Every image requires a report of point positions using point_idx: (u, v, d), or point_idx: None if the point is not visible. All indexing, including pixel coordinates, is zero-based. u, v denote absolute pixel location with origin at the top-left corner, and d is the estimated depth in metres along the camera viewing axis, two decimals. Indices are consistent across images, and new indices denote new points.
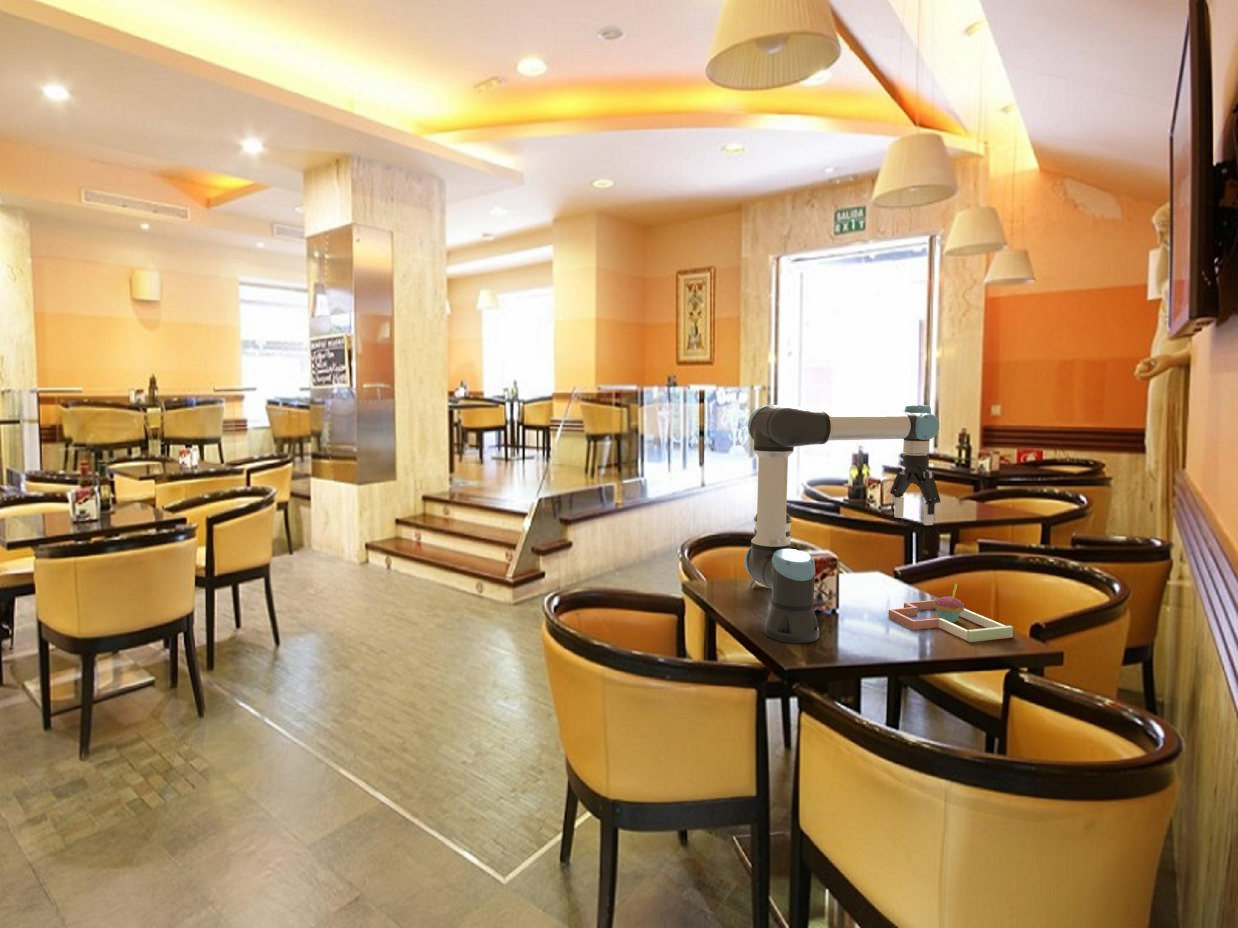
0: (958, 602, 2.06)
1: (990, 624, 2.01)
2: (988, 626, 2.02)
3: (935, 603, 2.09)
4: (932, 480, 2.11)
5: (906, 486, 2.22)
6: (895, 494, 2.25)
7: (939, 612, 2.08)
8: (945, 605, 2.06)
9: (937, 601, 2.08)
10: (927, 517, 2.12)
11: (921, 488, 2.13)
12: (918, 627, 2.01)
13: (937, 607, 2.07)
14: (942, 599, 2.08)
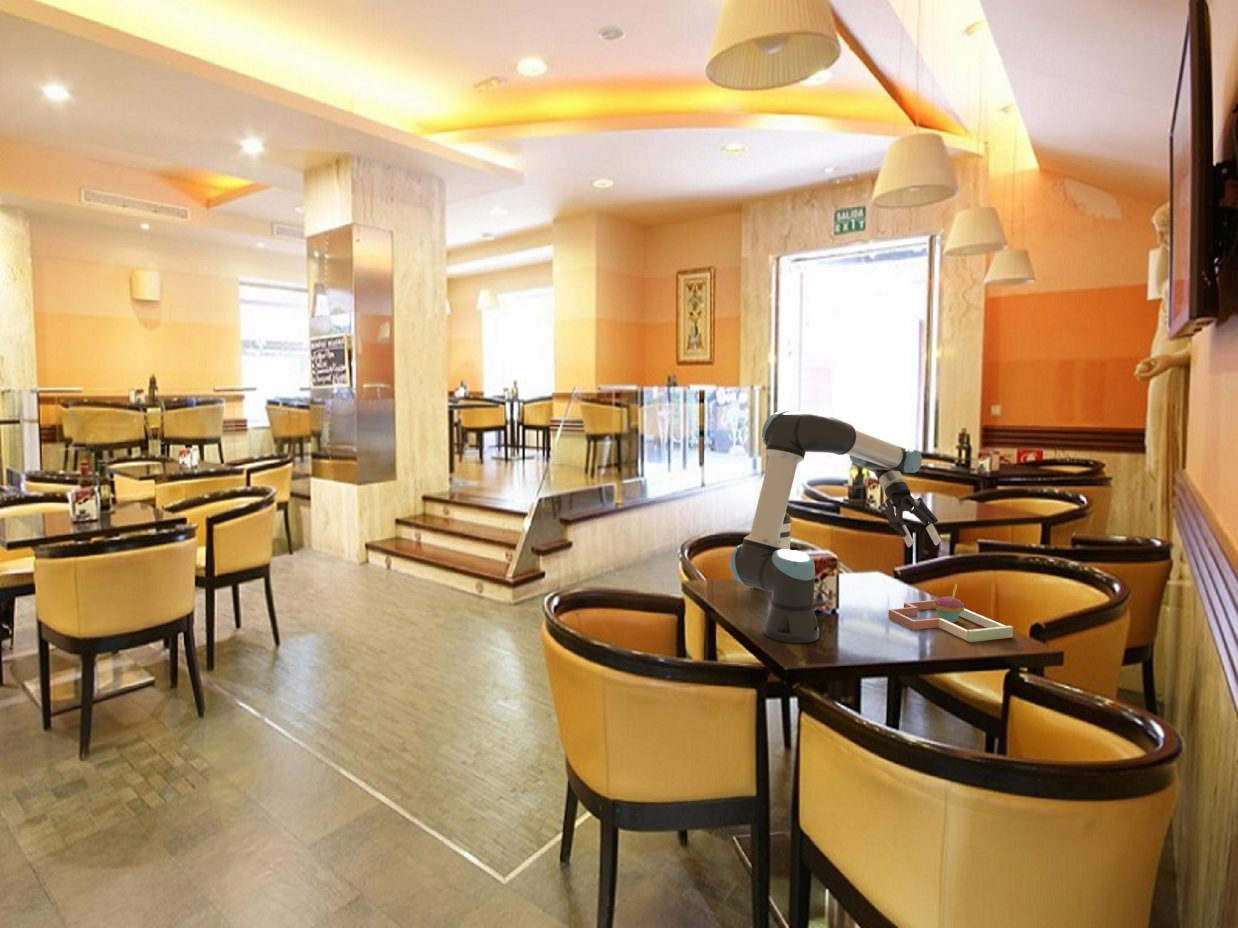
0: (958, 602, 2.06)
1: (990, 624, 2.01)
2: (988, 626, 2.02)
3: (935, 603, 2.09)
4: None
5: None
6: (901, 522, 2.20)
7: (939, 612, 2.08)
8: (945, 605, 2.06)
9: (937, 601, 2.08)
10: None
11: (920, 511, 2.25)
12: (918, 627, 2.01)
13: (937, 607, 2.07)
14: (942, 599, 2.08)
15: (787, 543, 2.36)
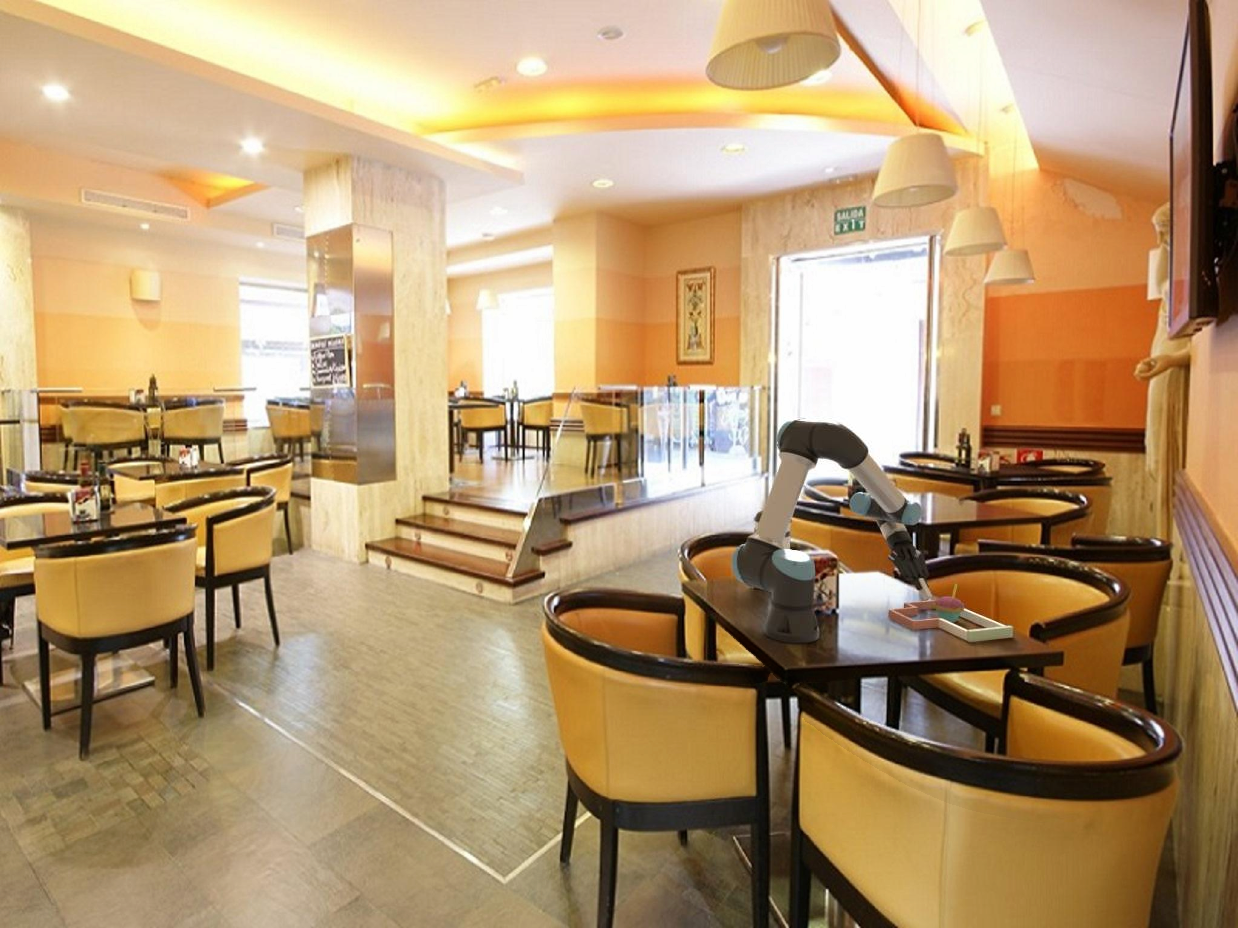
0: (958, 602, 2.06)
1: (990, 624, 2.01)
2: (988, 626, 2.02)
3: (935, 603, 2.09)
4: None
5: None
6: (916, 575, 2.21)
7: (939, 612, 2.08)
8: (945, 605, 2.06)
9: (937, 601, 2.08)
10: None
11: (916, 562, 2.24)
12: (918, 627, 2.01)
13: (937, 607, 2.07)
14: (942, 599, 2.08)
15: (787, 543, 2.36)
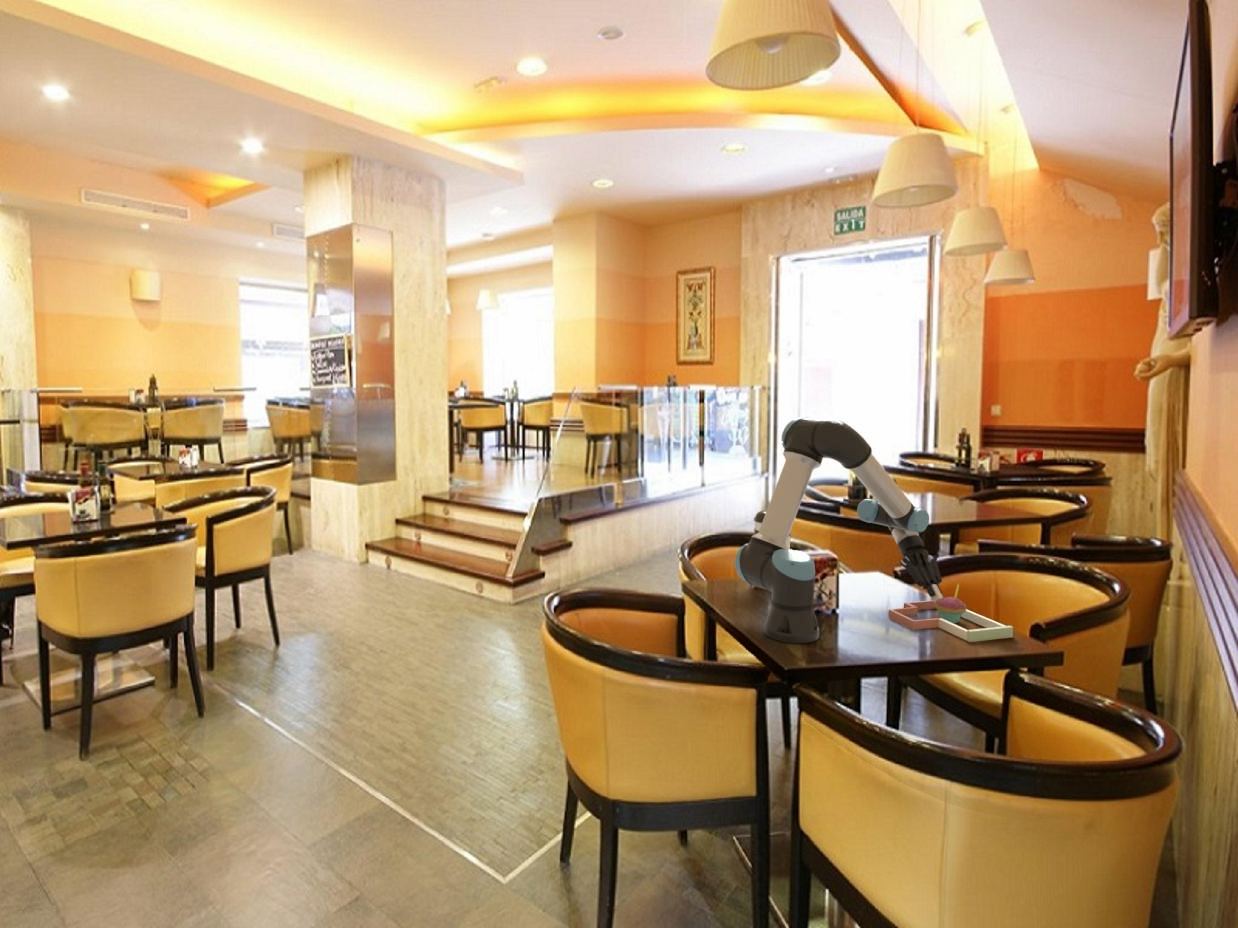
0: (959, 603, 2.05)
1: (990, 624, 2.01)
2: (988, 626, 2.02)
3: (936, 603, 2.08)
4: None
5: None
6: (929, 581, 2.16)
7: (940, 612, 2.08)
8: (945, 605, 2.05)
9: (938, 601, 2.08)
10: None
11: (929, 568, 2.19)
12: (918, 627, 2.01)
13: (938, 607, 2.07)
14: (943, 600, 2.07)
15: (787, 543, 2.36)
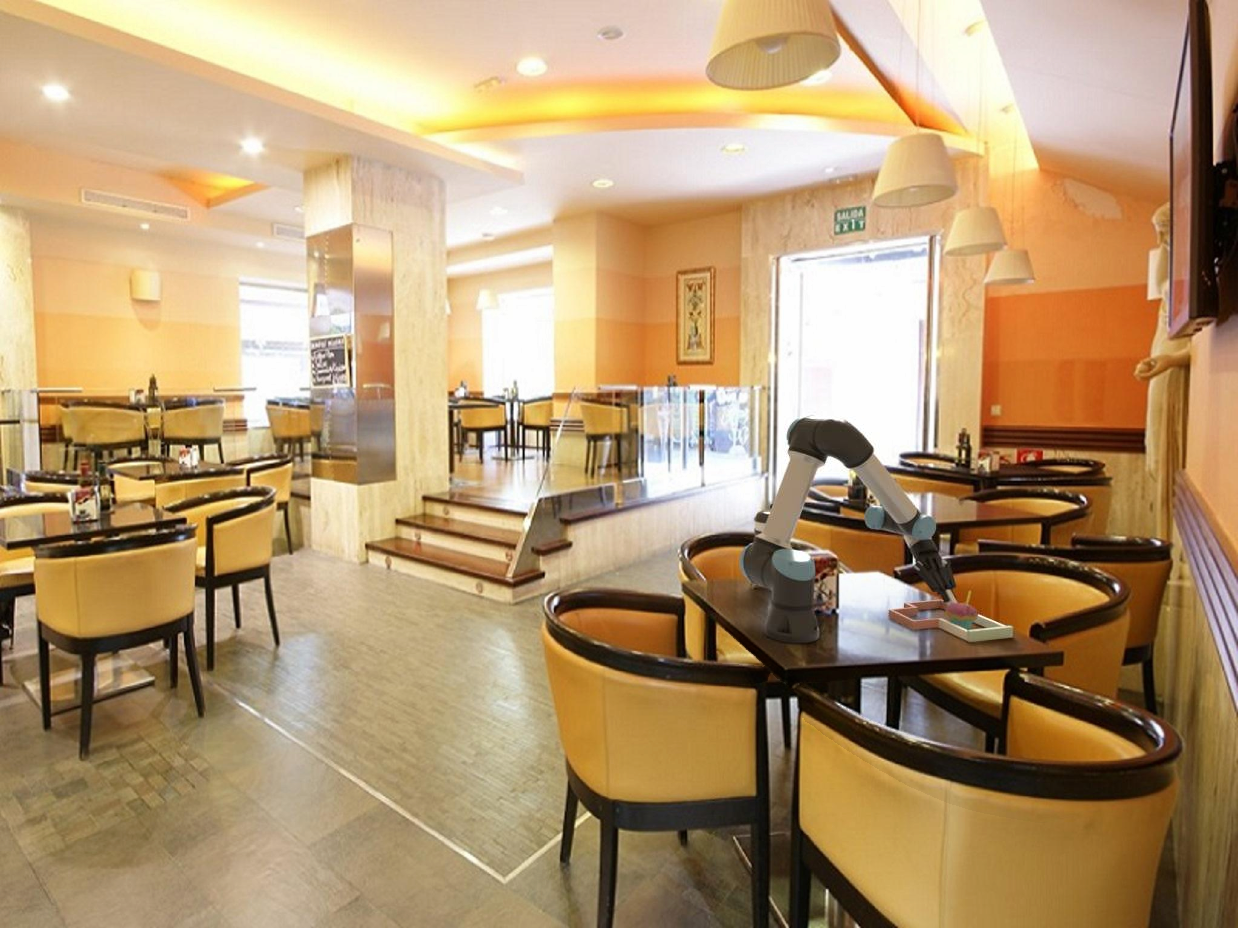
0: (969, 610, 1.99)
1: (990, 624, 2.01)
2: (988, 626, 2.02)
3: (946, 608, 2.03)
4: None
5: None
6: (943, 586, 2.10)
7: (950, 618, 2.03)
8: (953, 611, 2.00)
9: (948, 606, 2.03)
10: None
11: (943, 573, 2.13)
12: (918, 627, 2.01)
13: (946, 612, 2.02)
14: (953, 605, 2.02)
15: None
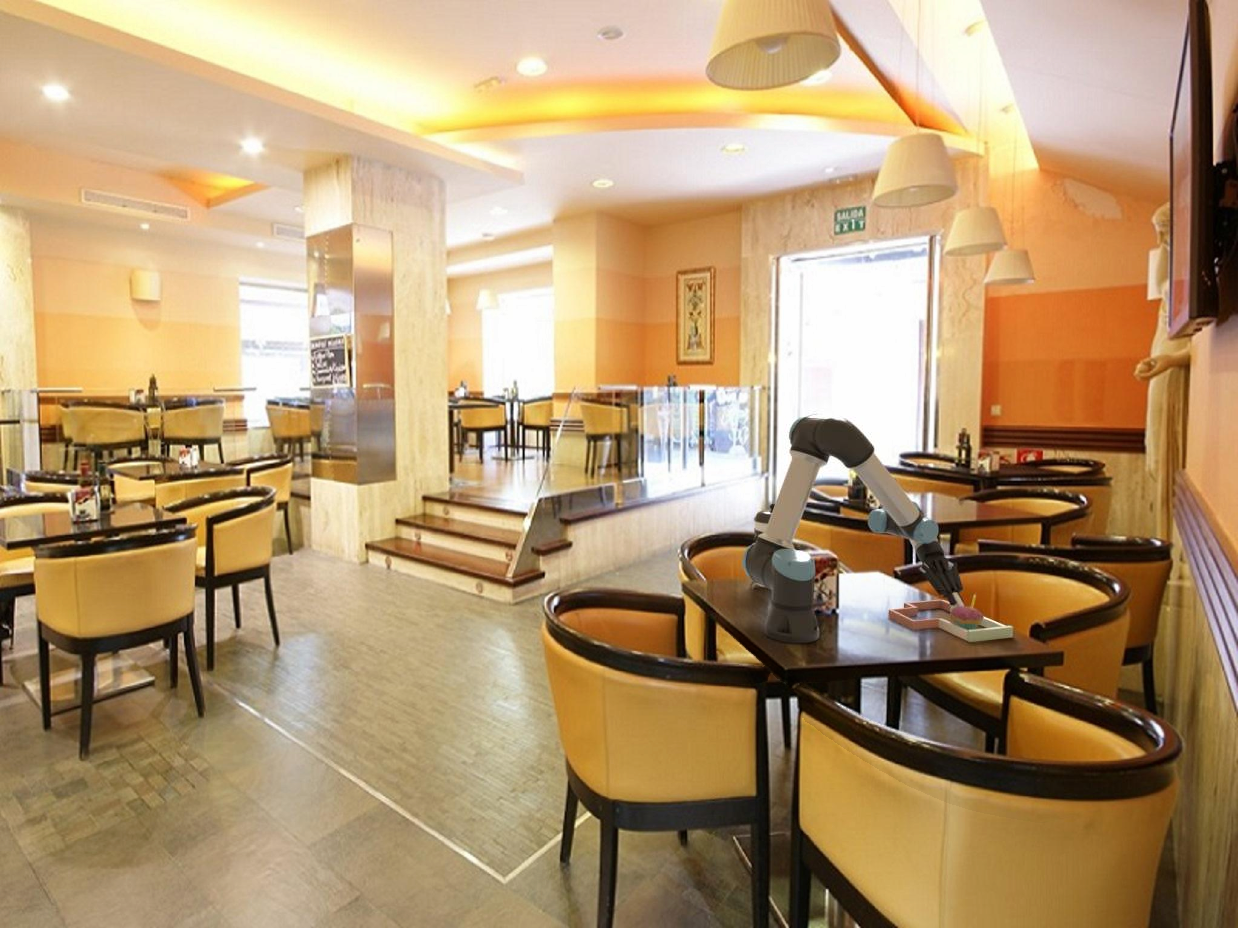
0: (972, 614, 1.95)
1: (990, 624, 2.01)
2: (988, 626, 2.02)
3: (951, 611, 2.01)
4: None
5: None
6: (949, 589, 2.07)
7: (954, 621, 2.00)
8: (955, 614, 1.97)
9: (953, 609, 2.00)
10: None
11: (949, 575, 2.10)
12: (918, 627, 2.01)
13: (950, 615, 2.00)
14: (957, 608, 1.99)
15: None
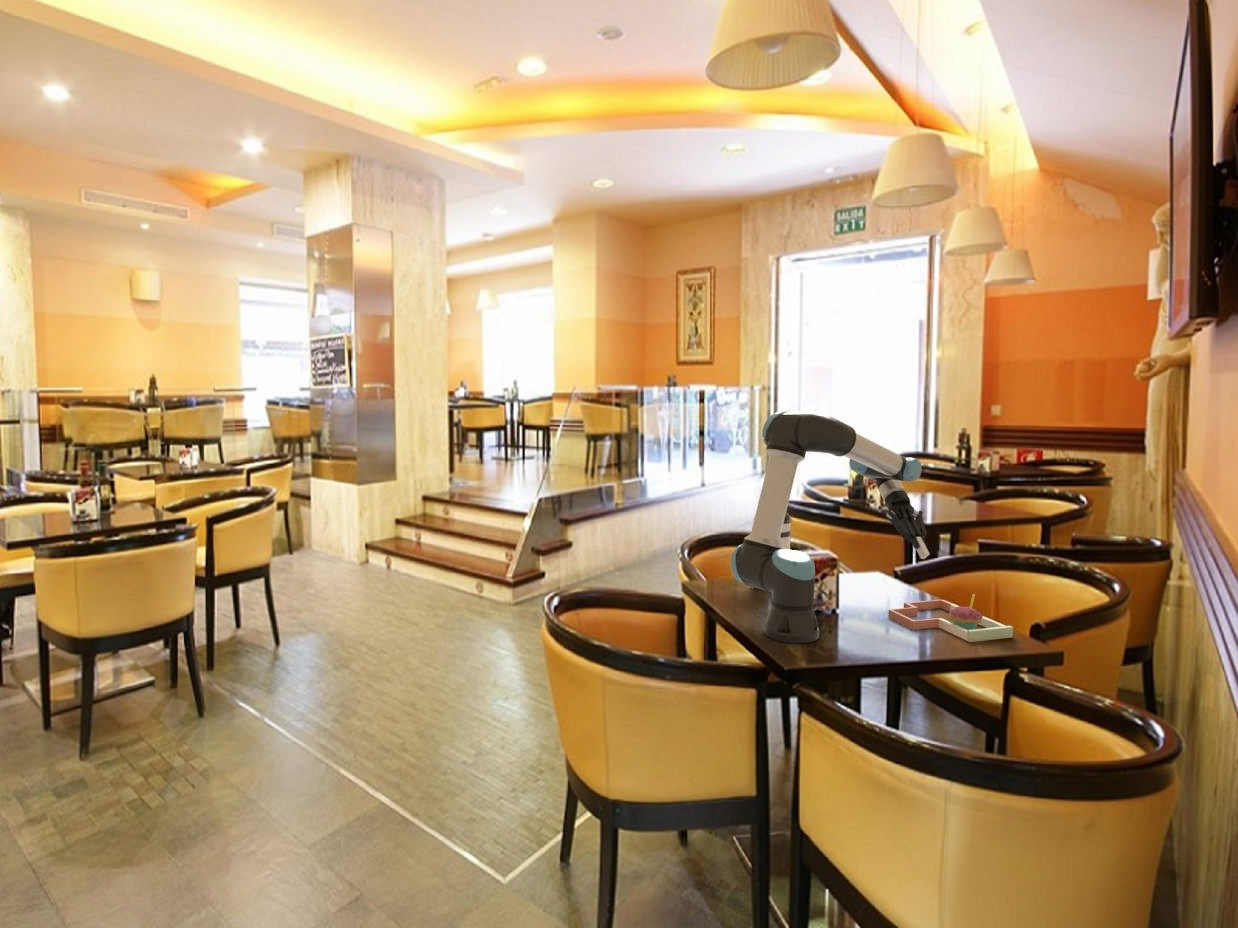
0: (972, 613, 1.96)
1: (990, 624, 2.01)
2: (988, 626, 2.02)
3: (950, 611, 2.01)
4: None
5: None
6: (913, 534, 2.20)
7: (953, 621, 2.00)
8: (955, 614, 1.98)
9: (952, 609, 2.00)
10: None
11: (914, 522, 2.23)
12: (918, 627, 2.01)
13: (950, 615, 2.00)
14: (957, 608, 1.99)
15: (787, 543, 2.36)
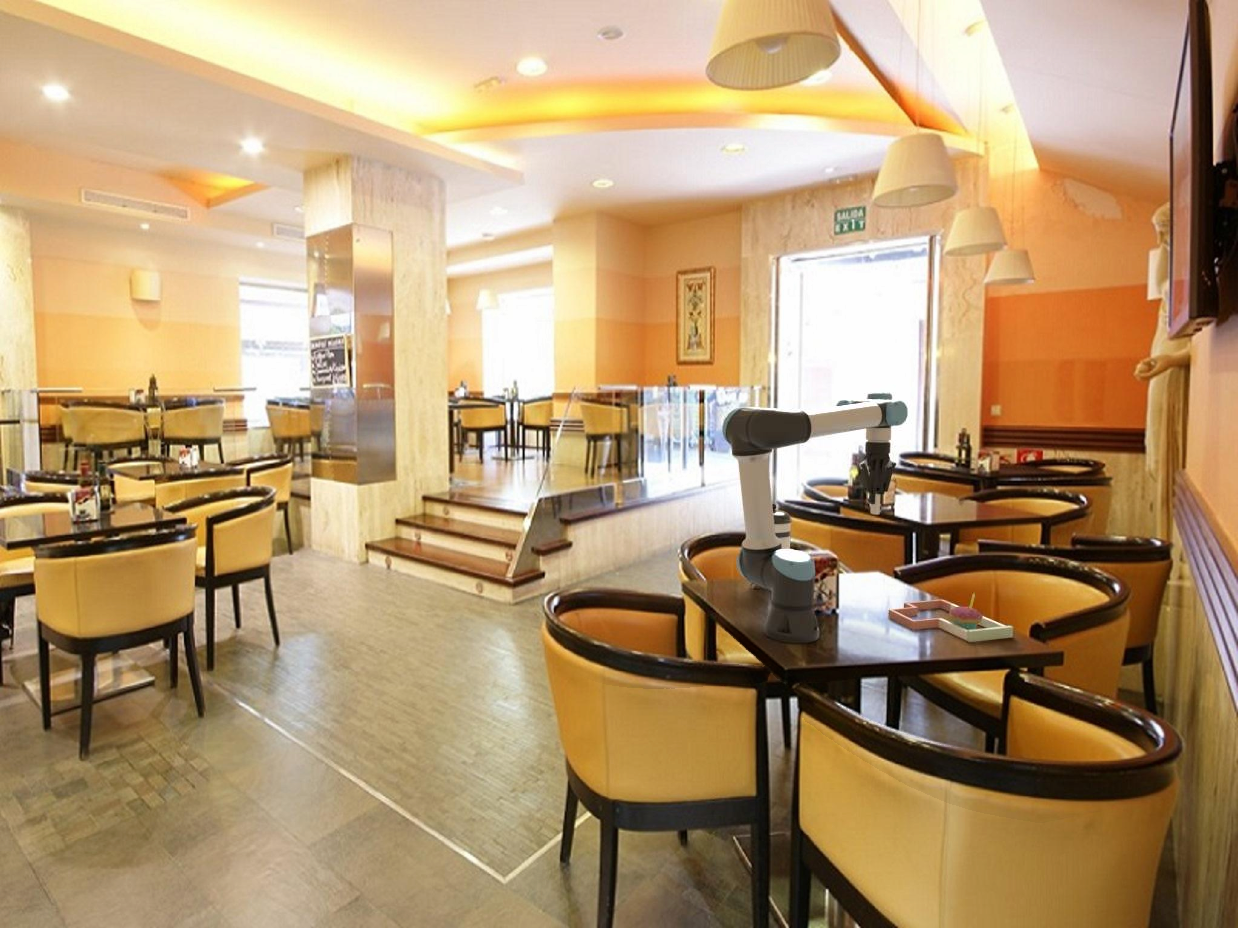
0: (972, 613, 1.96)
1: (990, 624, 2.01)
2: (988, 626, 2.02)
3: (950, 611, 2.01)
4: None
5: None
6: (875, 491, 2.21)
7: (953, 621, 2.00)
8: (955, 614, 1.98)
9: (952, 609, 2.00)
10: None
11: (882, 476, 2.21)
12: (918, 627, 2.01)
13: (950, 615, 2.00)
14: (957, 608, 1.99)
15: (787, 543, 2.36)
